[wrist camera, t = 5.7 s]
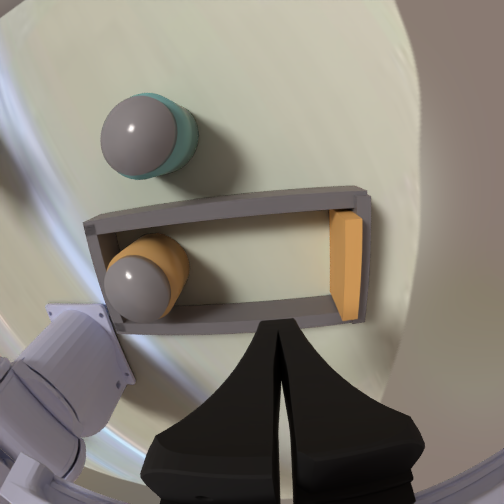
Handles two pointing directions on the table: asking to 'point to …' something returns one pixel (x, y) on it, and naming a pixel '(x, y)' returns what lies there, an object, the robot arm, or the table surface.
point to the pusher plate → (345, 261)
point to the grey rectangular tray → (220, 207)
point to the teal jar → (148, 136)
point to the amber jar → (147, 278)
